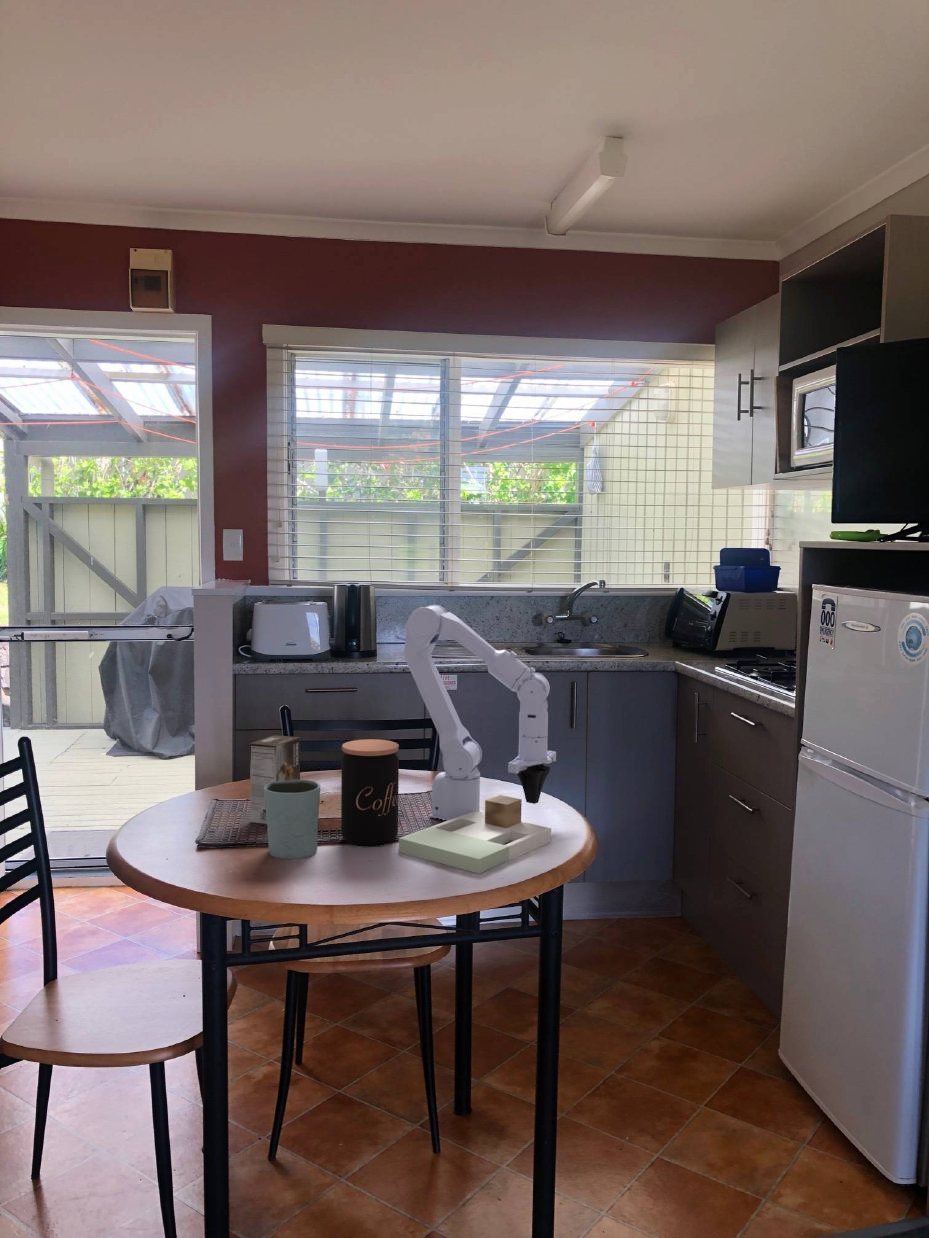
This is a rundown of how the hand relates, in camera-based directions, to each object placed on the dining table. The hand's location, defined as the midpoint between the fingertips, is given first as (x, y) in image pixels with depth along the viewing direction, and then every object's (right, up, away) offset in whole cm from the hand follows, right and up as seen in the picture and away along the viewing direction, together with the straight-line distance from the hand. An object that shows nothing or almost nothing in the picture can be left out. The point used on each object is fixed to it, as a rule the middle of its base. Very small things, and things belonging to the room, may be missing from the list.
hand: (532, 802), depth 187 cm
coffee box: (-52, -4, +2) cm, 52 cm away
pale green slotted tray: (-11, -5, -14) cm, 19 cm away
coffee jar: (-31, -5, -11) cm, 34 cm away
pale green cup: (-45, -5, -19) cm, 49 cm away
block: (-6, -2, -8) cm, 10 cm away
